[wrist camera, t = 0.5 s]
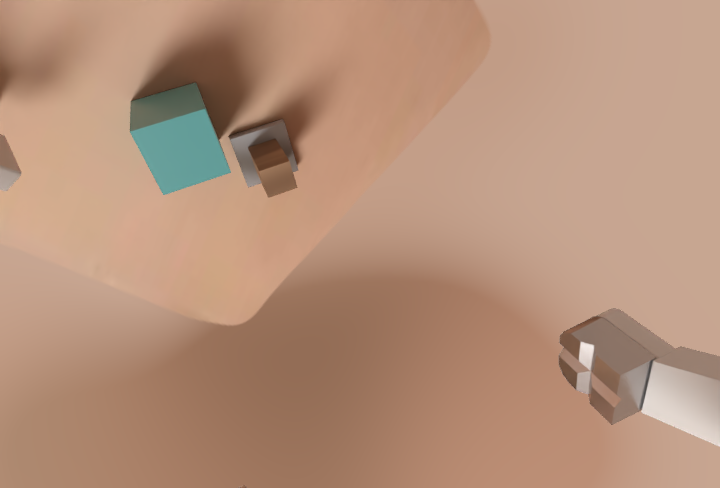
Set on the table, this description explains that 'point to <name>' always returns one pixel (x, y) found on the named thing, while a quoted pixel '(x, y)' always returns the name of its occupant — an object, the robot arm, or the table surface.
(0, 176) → the lighter
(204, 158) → the teal rectangular block
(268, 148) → the wooden block on base
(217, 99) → the table surface
